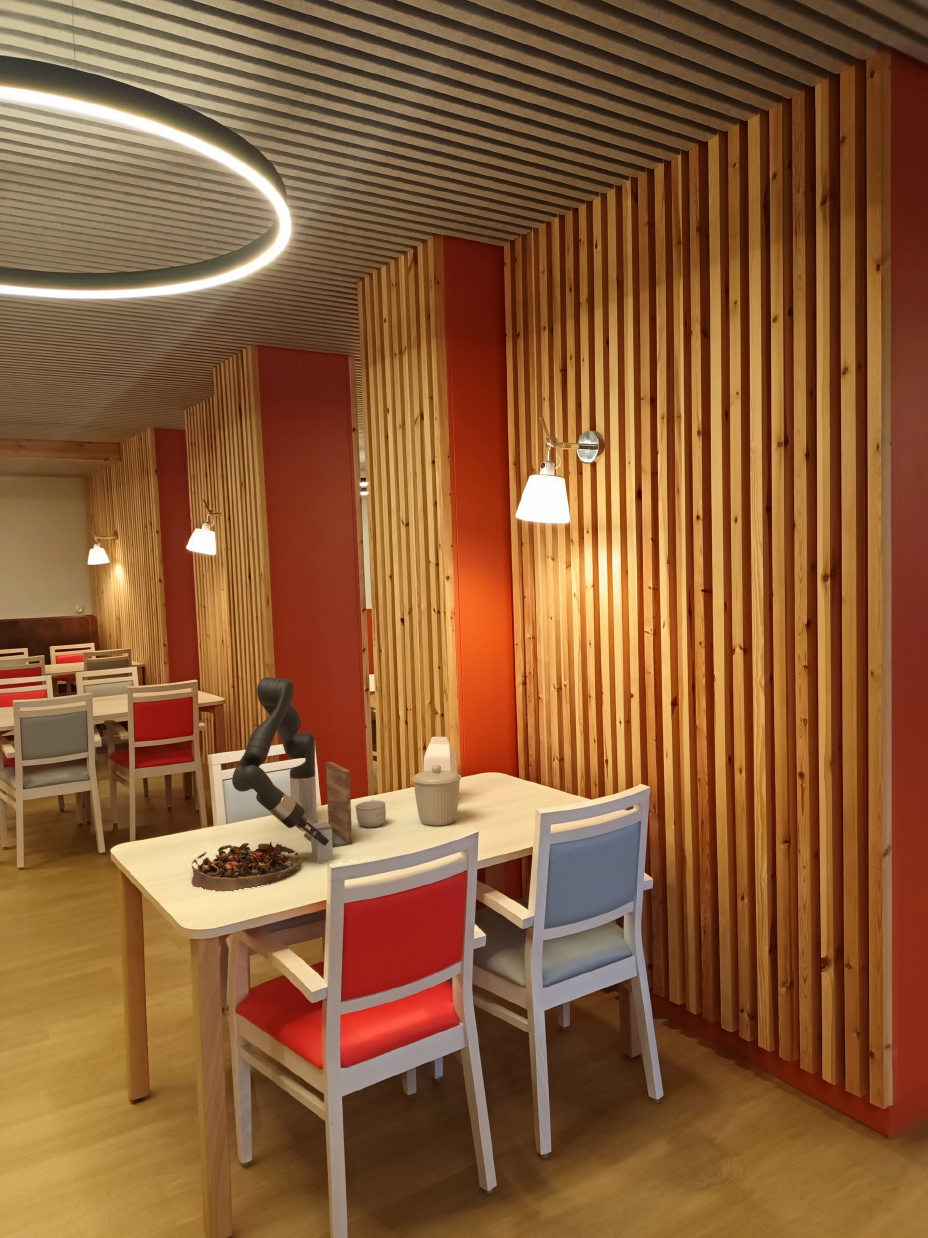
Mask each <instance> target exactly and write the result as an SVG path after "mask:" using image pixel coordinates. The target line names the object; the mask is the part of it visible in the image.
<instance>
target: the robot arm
mask: <svg viewBox="0 0 928 1238" xmlns="http://www.w3.org/2000/svg"><path fill="white" fill-rule="evenodd" d="M294 692H295V686H294V682H293V681H292V680H290V679H286V678H279V677H272V676H269V677H268V676H267V677H263V678H261V679H260V681H259V682H258V683H257V688H256V695H257V699H258V702H259V703H260V705H261V706H262V707H263V709H264V710H265V711H266V713H267V714H268V717H267V718H266V719H265V720H264V721H263V722H261V723H260V724H259V725H257V727H256V728H255V729H254V730H253V731H252V733H251V735H250V736H249V740H248V741H247V744H246V748H245V751H244V753H243V755H242V756H241V758H240V760H239V762H238V763H237V765H236V767H235V769H234V771H233V774H232V777H231V781H232V782H231V783H232V786H233V788H234V789H235V790H236V791H238V792H241V793H243V792H244V793H245V792H248V791H251V790H253V791H255V793H256V797H255V798H256V801H257V802H258V804H260V805H261V806H262V807H263V808H264V809H266V810H267V811H269V813H270V814H271V815H272V816H273V817H275V818H276V819H277V820H278V821H279V822H281V823H282V824H283V825H285V827H287V828H288V829H293V828H294V827H296V828H297V829H298V830H300V831H301V832H303V833H304V834H305V833H306V834H307V835H309V836H312V837H314V839H315V840H318V841H319V842H320V843H321V844H323V845H324V846H326V845H327V843H328V842H329V840H328V839H327V838H326V837H324V836H323V835H322V833H321V832H319V831H318V830H317V828H316V827H315V826H314V825H313V823H318V811H317V810H318V809H317V808H318V807H317V785H316V782H317V781H316V761H315V760H316V739H315V735H314V733H312V732H299V731H300V729H301V727H302V719H301V716H300V714H299V711H298V710H297V709H296V707H295V706H294V705H293V704H292V702H293V698H294ZM276 734H278V735H279V738H280V741H281V743H282V747H283V750H284V752H285V755H286V756H287V757H288V758H290V759H305V760H304V762H303V763H301V764H300V765H297V766H294V767H292V768H291V769H290V770H289V786H290V789H289V790H290V796H289V795H288V794H286V793H285V792H283V791H282V790H281V789H280V788H279V787H277V786H276V785H275V784H274V783H273V781H272V780H271V778H270V777H269V776H268V774H267V773H266V771H265V770H264V769H263V768H262V767H260V766H261V765H263V764H264V763H265V762H266V760H267V758H268V754H269V752H270V749H271V746H272V744H273V741H274V738H275V735H276ZM315 831H316V832H318V833H317V834H316V835H315V836H314V835H313V833H314V832H315Z"/></svg>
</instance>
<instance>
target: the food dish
mask: <svg viewBox="0 0 928 1238" xmlns="http://www.w3.org/2000/svg"><path fill="white" fill-rule="evenodd" d="M249 845H250V842H246V843H245V842H244V843H242V844H241V845H240V846H237V845H233V846H232V844H229V845H228V844H227V845H223V846H220V847H218V849H217V851H218V854H215V858H214V859H213V860H211V859H210V858H209V857H205V858H203V857H204V856H205V855H206V854H207V853H208V852H206V851H204V852H203V853H201V854H200V855H198V856H197V858H195V859H193V860H192V862H191V869H192V871H193V875H192V880H191V882H190V883H191V885H192V887H194V888H200V887H201V889H202V888H203V890H205V889H206V890H205V891H213V890H215V891H214V892H225V891H232V892H235V891H234V890H237V891H240V890H239V889H242V890H245V889H244V888H250V889H253V888H252V887H255V888H258V887H257V886H261V885H266V886H267V884H268V885H269V884H273V883H272V882H274V883H276V882H275V881H277V882H278V881H279V880H281V879H283V877H284V878H286V877H287V876H288V875H287V874H289V873H291V874H293V872H294V870H295V869H296V868H297V867H298V865H299V864H300V863H301V860H302V859H301V855H298V854H299V852H297V850H294V849H293V848H289V847H287V846H283V845H282V844H280V843H277V844H275V846H274V845H273V844H272V841H270V842H269V843H262V842H261V843H258V844H257V848H256V849H255V850H251V848H250V847H249ZM227 849H229V850H228V851H227V852H226V851H225V850H227ZM282 853H283V854H282ZM284 853H287V855H285V854H284ZM294 853H295V854H294ZM289 854H290V855H291V854H294V855H295V856H297V855H298V856H297V857H296V858H295V862H294V861H292V860H290V859H289V858H290V857H289ZM201 858H203V859H202V863H200V864H199V863H198V861H197V860H199V859H201ZM194 863H195V864H196V865H197V868H196V867H194V865H193V864H194ZM286 875H287V876H286ZM289 875H290V874H289ZM285 876H286V877H285ZM280 878H281V879H280ZM278 879H279V880H278ZM261 887H262V886H261Z"/></svg>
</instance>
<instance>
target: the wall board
mask: <svg viewBox="0 0 928 1238" xmlns="http://www.w3.org/2000/svg"><path fill="white" fill-rule="evenodd" d="M325 769H326V793H327V795H326V796H327V797H326V798H327V821H328V822H327V823H328V824H330V825H331V826H332V849H333V848H338V847H344V846H350V845H353V834H352V833H353V831H352V829H353V828H352V827H353V826H352V807H351V806H352V805H351V804H352V803H351V801H352V799H351V779H350V778H351V777H350V776H351V774H350V770H349V769H346V768H344V767H342V766H341V765H339V764H338V763H335V762H333V761H327V762H325ZM303 837H304V838H305V839H307V840H308V841H310V842H311V836H309V835H307V834H306V833H305V832H304V833H303Z"/></svg>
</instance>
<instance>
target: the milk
mask: <svg viewBox="0 0 928 1238" xmlns="http://www.w3.org/2000/svg"><path fill="white" fill-rule="evenodd" d="M429 741H430V742H429V744H428V746H427V749H426V752H425V753H424V755H423V756H424V757H423V772H424V771H429V770H432V769H431V768H432V766H433V765H440V766H441V770H449V771H453V772H456V773H457V774H459V773H458V764H457V753H456V750H455V749H454V747H453V746H452V744H451V742H450V740H449V737H448V736H432V737H431V739H430V740H429ZM460 799H461V797H460V796H459V798H458V800H460Z"/></svg>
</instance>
